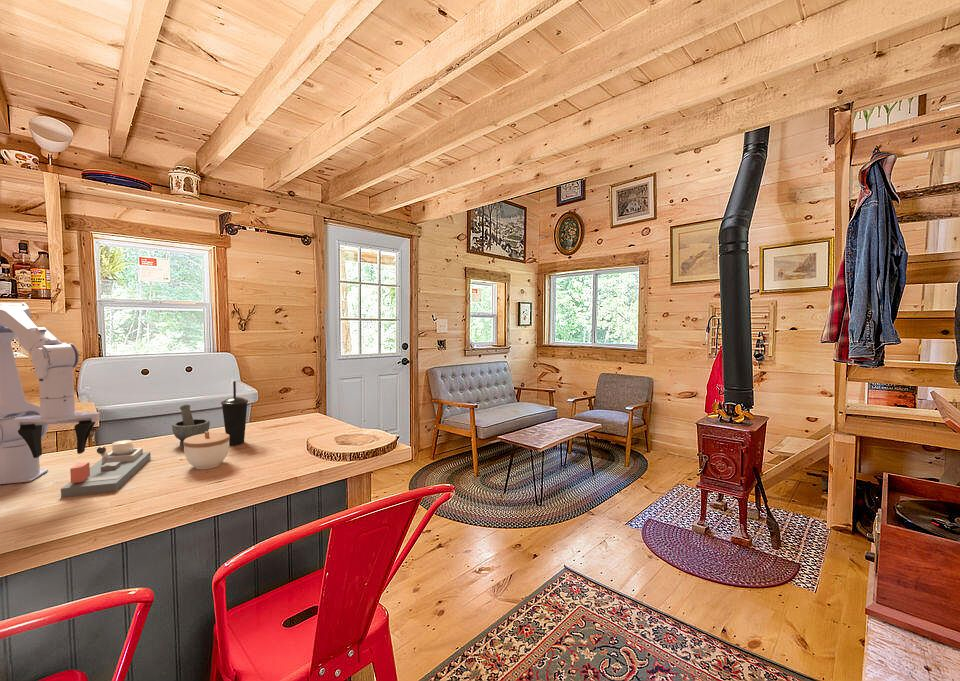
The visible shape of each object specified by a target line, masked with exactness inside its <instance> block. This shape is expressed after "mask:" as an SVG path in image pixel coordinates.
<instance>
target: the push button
mask: <svg viewBox="0 0 960 681" xmlns="http://www.w3.org/2000/svg"><path fill="white" fill-rule="evenodd" d="M133 449H134V440H130V439H128V440H125V439H124V440H119V441H114V442H112V443H111V451H112V454H125V453H129V452H132V451H133Z"/></svg>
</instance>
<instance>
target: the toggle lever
mask: <svg viewBox="0 0 960 681" xmlns="http://www.w3.org/2000/svg"><path fill="white" fill-rule="evenodd" d="M96 453H97V454H99V455H100V456H101V459H102V458H103V459H104V461H107V460H109V459H111V458H110V457H109V455H108V452H107V448H106V447H105V446H99V447H97V449H96Z"/></svg>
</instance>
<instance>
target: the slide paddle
mask: <svg viewBox="0 0 960 681" xmlns="http://www.w3.org/2000/svg"><path fill="white" fill-rule="evenodd" d="M90 465H91V464H90V461H86V462H85V461H84V462H83V461H82V462H78V463H77V464H75V465H73V466H72V467H71V468H70V470H69V471H70V474H69V475H70V482H71V483H77V482H83V481H84V480H85V479H86V478H88V477H89V476H90V467H91V466H90Z"/></svg>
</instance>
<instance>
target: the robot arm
mask: <svg viewBox="0 0 960 681" xmlns="http://www.w3.org/2000/svg"><path fill="white" fill-rule="evenodd" d="M16 339H17V340H18V344H19V346H21V347H22V348H23V349H24V350H25V351H26V352H27V353H28V354H29V355H30V356H31V358H30V359H31V364H32V366H33V368H34V375H35V377H36V378H37V379H38V387H39V388H38V390H39V405H37V404H34V403H32V402H29V401H27V399H26V397H25V392H24V389H23V384H22V381H21V377H20V373H19V368H18V366H17V361H16V358H15V354H14V349H13V347H12V341H13V340H16ZM79 361H80V353H79V351H78V348H77V347H76V345H75V344H74V343H70V342H62V341H61V340H59V339H58V338H57V337H56V336H55V335H54V334H53V333H51V332H50V331H49V330H48V329H47V328H46V327H43V326H41V327H40V326H37V325H36V324H35V323H34V321H33V320H32V313H31V308H30V307H29V306H28V305H27V303H26V302H21V301H19V302H0V485H6V484H18V483H19V484H20V483H29V482H32V481H34V480H36V479H37V478H39V477H41V476H42V475H44V474H45V473H47V472H48V471H49V469H48V468H42V469H41V468H40V457H41V456H42V454H43V447H42V446H43V445H42V440H43V437H45V435H46V434H47V432H48V430H49V425H60V424H73V423H74V424H75V423H77V424H75V425H74V431H75V436H76V452H77V455H80V454H83V453H84V452H85V451H86V445H87V441H88V439H89V436H90V433H91V431H92V430H93V428H94V427H95V424H96V423H97V422H99V421H100V420H101V415H100V414H101V413H100V411H95V412H94V411H93V412H90V411H89V412H88V411H87V412H86V411H85V412H83V411H82V412H81V411H80V412H79V411H78V412H76V410H75V408H76V407H75V403H76V402H75V384H74V368H76V367H77V366H78V365H79Z"/></svg>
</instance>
